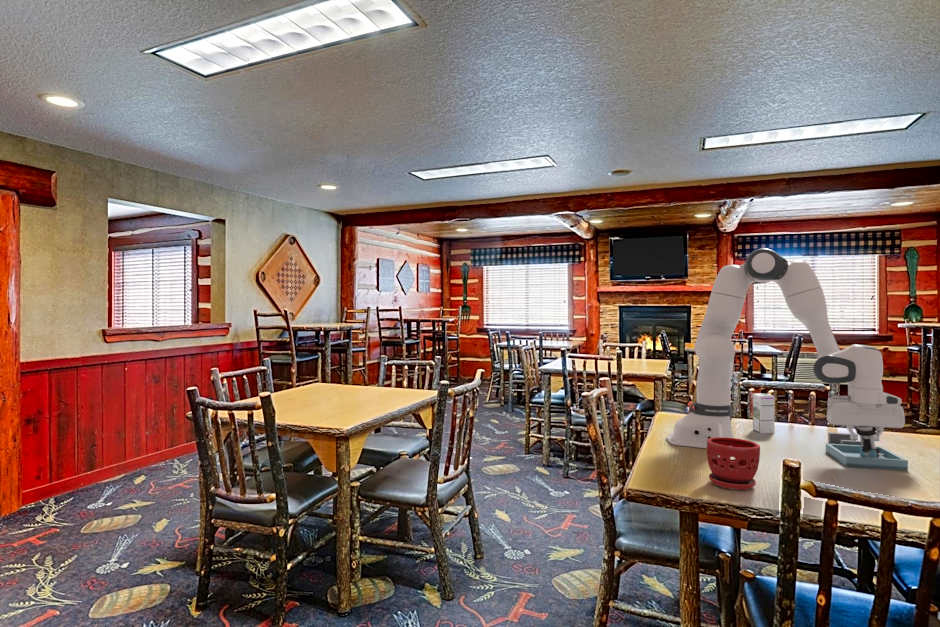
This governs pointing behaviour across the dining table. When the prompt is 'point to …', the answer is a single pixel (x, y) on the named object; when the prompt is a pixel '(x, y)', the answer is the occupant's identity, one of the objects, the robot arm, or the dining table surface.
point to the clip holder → (842, 439)
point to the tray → (852, 458)
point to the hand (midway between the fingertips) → (864, 440)
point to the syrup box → (763, 413)
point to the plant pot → (733, 462)
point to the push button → (868, 442)
